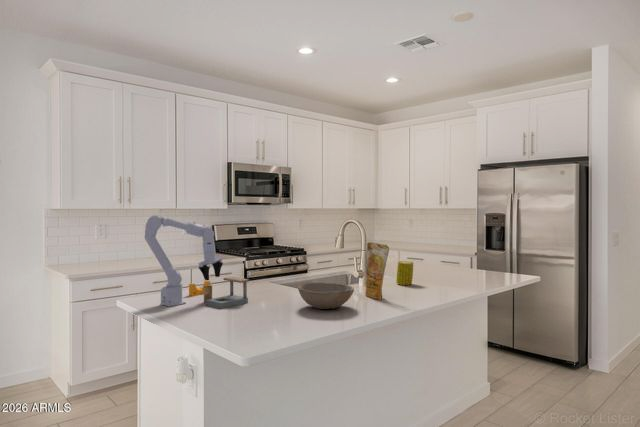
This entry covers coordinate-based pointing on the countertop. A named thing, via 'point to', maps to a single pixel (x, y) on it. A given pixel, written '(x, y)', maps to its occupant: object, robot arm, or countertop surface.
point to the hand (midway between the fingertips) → (212, 278)
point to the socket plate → (230, 299)
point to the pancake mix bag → (375, 269)
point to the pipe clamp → (195, 291)
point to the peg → (207, 292)
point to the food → (404, 273)
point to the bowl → (325, 294)
